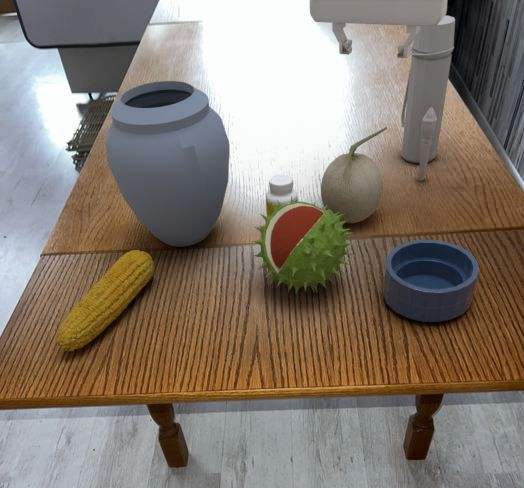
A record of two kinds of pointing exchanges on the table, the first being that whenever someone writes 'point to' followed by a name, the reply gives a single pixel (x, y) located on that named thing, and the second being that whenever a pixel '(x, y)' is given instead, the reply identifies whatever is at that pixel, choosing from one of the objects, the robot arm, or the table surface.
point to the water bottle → (427, 85)
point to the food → (106, 300)
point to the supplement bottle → (280, 192)
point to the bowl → (429, 280)
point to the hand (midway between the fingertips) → (373, 55)
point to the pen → (426, 140)
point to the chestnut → (302, 244)
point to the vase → (169, 159)
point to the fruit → (352, 185)
